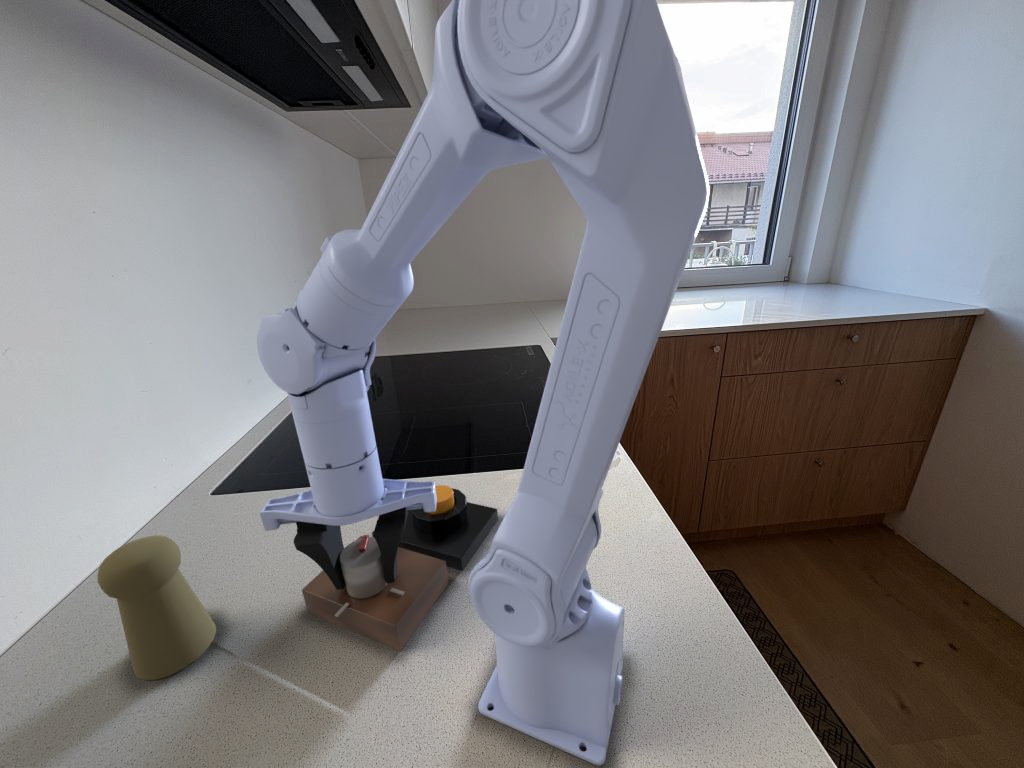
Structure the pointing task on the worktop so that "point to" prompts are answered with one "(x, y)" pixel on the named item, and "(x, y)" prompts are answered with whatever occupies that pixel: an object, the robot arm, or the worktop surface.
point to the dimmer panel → (383, 600)
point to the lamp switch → (449, 531)
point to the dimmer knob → (363, 568)
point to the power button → (443, 499)
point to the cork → (156, 607)
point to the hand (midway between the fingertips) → (368, 578)
